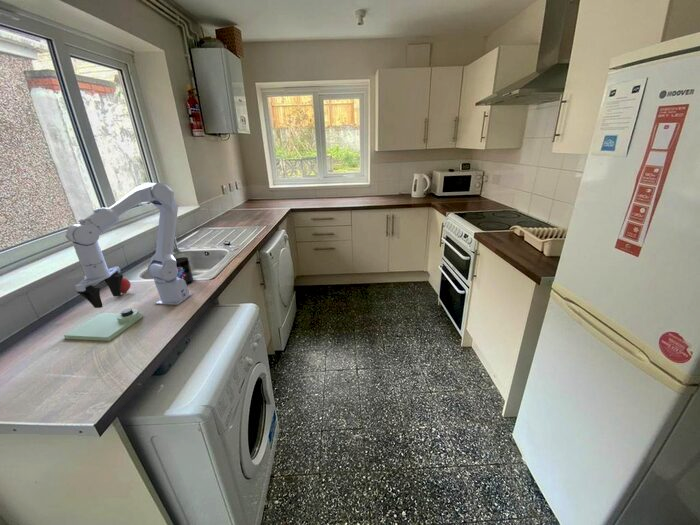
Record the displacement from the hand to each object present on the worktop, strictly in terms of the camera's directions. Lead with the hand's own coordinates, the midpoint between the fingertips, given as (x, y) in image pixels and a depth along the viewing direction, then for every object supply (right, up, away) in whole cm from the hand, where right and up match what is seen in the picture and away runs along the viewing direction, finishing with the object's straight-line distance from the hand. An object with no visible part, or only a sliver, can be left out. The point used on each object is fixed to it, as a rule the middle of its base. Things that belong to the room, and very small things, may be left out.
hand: (108, 301), depth 94 cm
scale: (-3, -9, +2) cm, 10 cm away
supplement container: (+7, +4, +33) cm, 33 cm away
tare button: (+3, -5, +4) cm, 7 cm away
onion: (-14, 0, +25) cm, 29 cm away
